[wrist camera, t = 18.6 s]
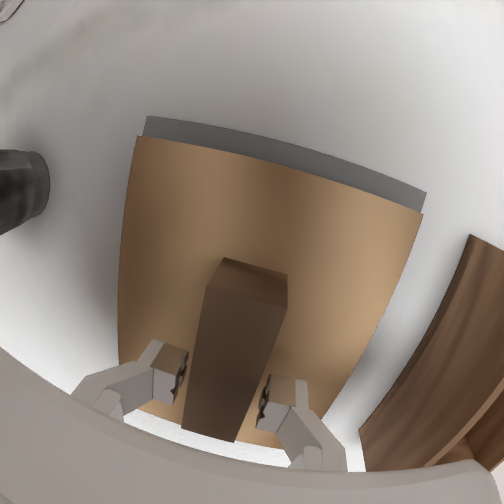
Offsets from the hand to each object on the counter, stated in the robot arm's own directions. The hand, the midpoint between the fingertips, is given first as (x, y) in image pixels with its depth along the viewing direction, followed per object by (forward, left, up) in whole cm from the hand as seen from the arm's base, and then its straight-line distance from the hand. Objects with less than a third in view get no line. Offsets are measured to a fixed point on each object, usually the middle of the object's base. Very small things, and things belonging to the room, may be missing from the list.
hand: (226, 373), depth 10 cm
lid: (0, 0, -4) cm, 4 cm away
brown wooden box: (+17, +2, -5) cm, 18 cm away
